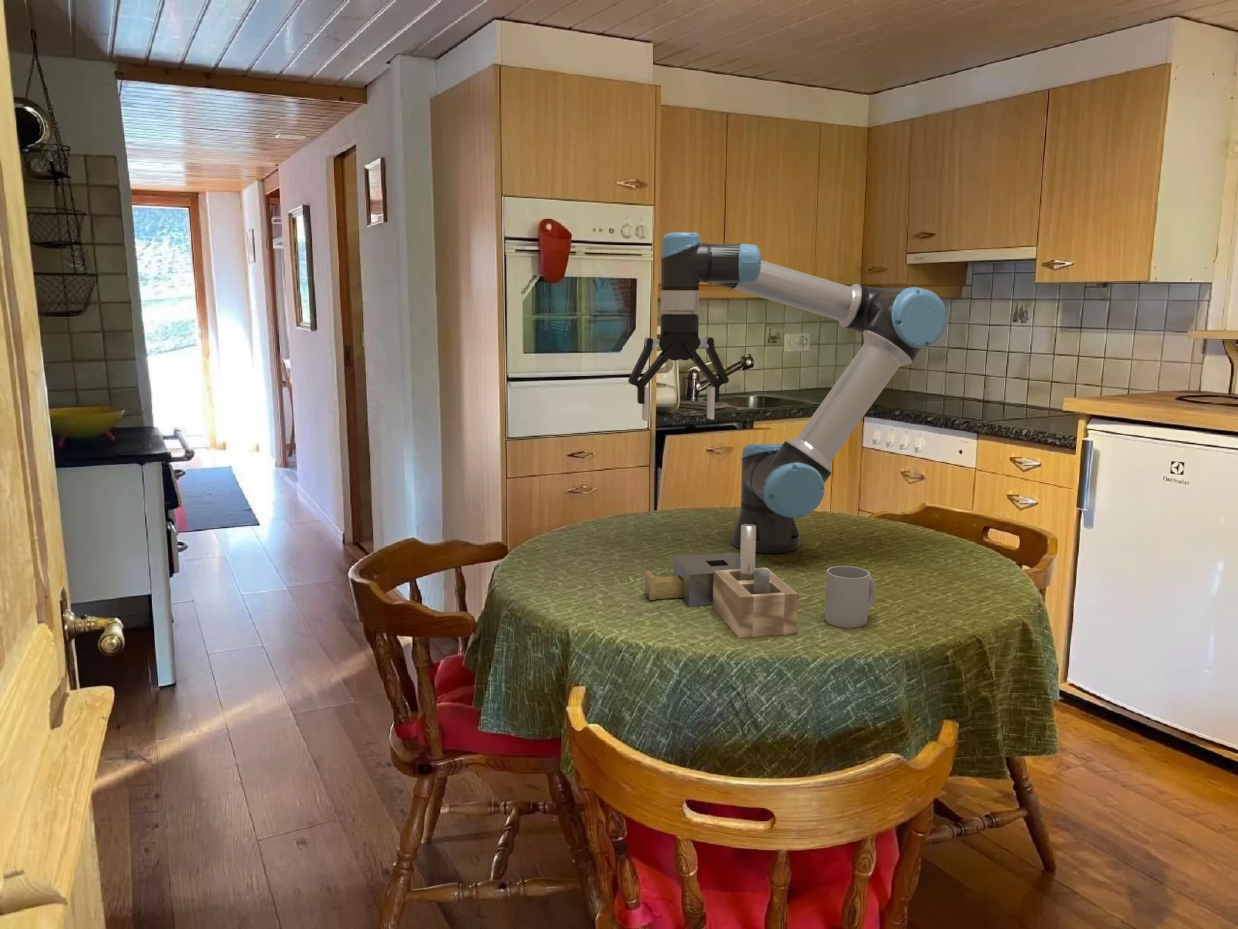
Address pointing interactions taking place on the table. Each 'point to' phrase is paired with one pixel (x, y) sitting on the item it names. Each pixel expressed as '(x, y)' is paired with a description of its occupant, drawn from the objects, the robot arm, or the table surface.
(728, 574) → the rack
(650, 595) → the brass square peg
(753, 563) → the round-ended peg
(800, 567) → the table surface
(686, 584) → the socket block
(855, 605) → the cup
